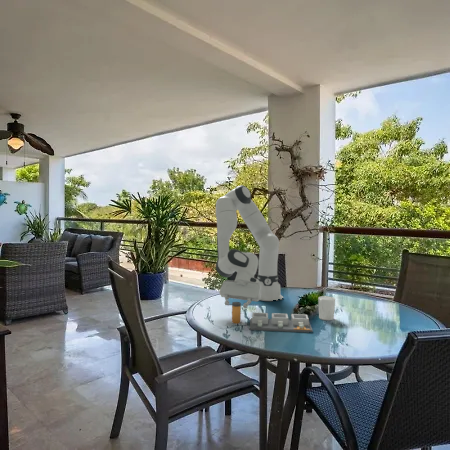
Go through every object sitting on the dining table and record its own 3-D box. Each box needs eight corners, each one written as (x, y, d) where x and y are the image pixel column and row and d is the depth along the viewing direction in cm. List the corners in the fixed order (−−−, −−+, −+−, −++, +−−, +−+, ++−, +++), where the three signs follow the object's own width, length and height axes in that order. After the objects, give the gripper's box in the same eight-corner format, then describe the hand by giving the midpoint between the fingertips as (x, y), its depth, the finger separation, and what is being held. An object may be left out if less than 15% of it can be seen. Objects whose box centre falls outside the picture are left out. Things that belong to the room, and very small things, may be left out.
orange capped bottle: (232, 320, 169) (232, 301, 168) (240, 321, 168) (241, 302, 168) (231, 323, 165) (231, 303, 164) (240, 323, 164) (240, 304, 164)
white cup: (334, 316, 177) (335, 296, 176) (335, 321, 169) (335, 300, 169) (318, 315, 179) (318, 295, 178) (317, 320, 171) (318, 299, 171)
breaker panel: (250, 320, 170) (250, 311, 170) (308, 322, 167) (308, 314, 167) (249, 329, 156) (249, 320, 156) (312, 332, 153) (312, 323, 153)
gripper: (222, 275, 179) (213, 299, 170) (261, 280, 170) (254, 305, 162) (226, 283, 183) (217, 306, 174) (264, 287, 174) (257, 312, 166)
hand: (235, 306), depth 168 cm, fingers open, 8 cm apart
